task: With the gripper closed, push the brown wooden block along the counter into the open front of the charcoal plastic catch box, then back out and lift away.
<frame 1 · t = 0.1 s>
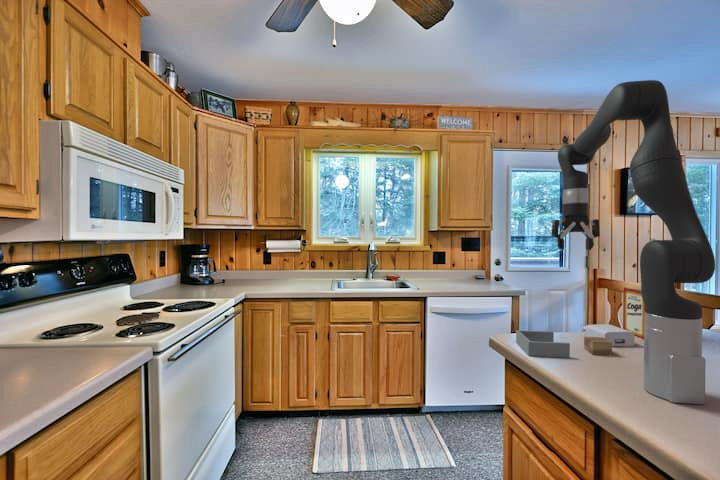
hand: (575, 249, 118), 29 cm above the countertop, tool pointing down, fingers open, 8 cm apart
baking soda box: (643, 336, 116), on the countertop
catch box: (542, 349, 102), on the countertop
brown wooden block: (597, 352, 100), on the countertop
charger: (602, 340, 112), on the countertop
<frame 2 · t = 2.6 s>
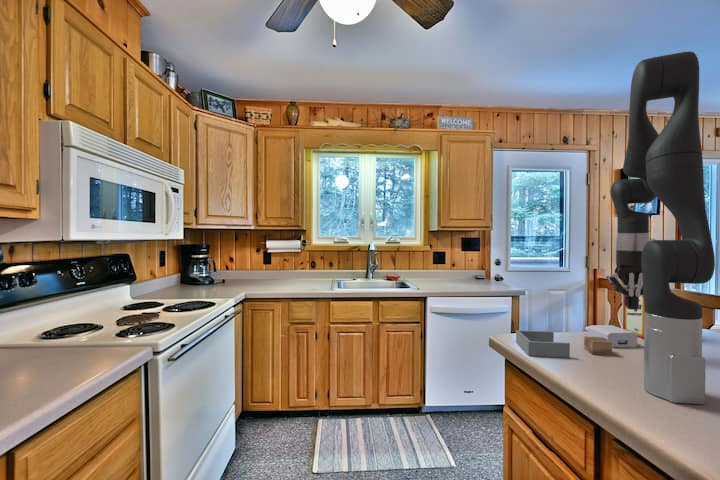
hand: (631, 308, 98), 13 cm above the countertop, tool pointing down, fingers closed
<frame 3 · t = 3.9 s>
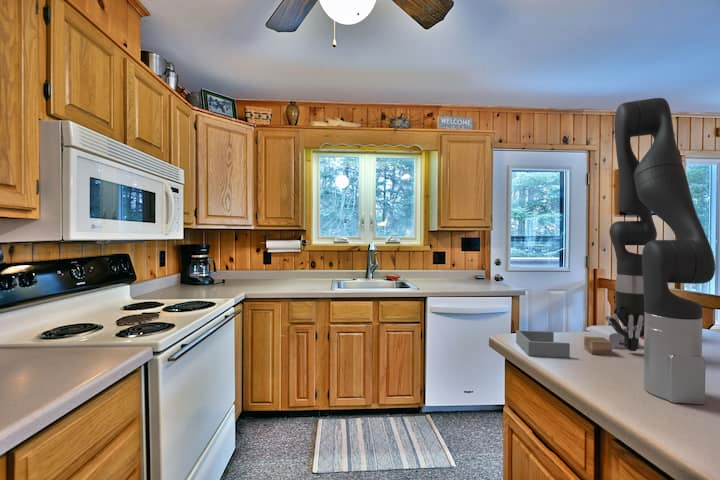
hand: (631, 350, 98), 1 cm above the countertop, tool pointing down, fingers closed
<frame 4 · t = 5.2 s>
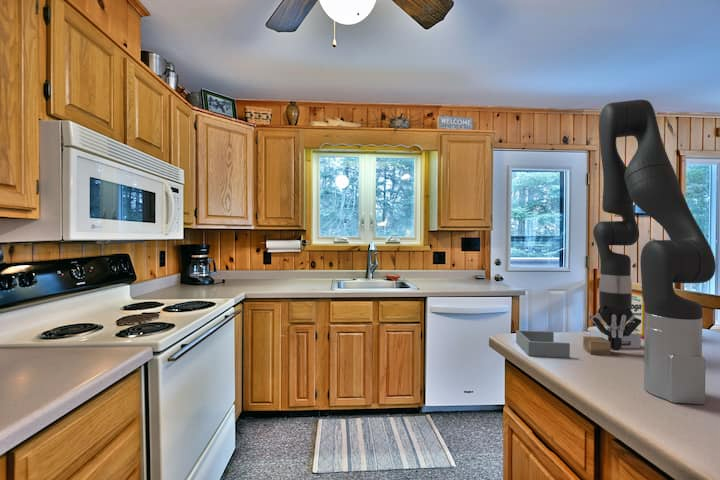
hand: (614, 349, 99), 1 cm above the countertop, tool pointing down, fingers closed
brown wooden block: (596, 352, 100), on the countertop, touching gripper
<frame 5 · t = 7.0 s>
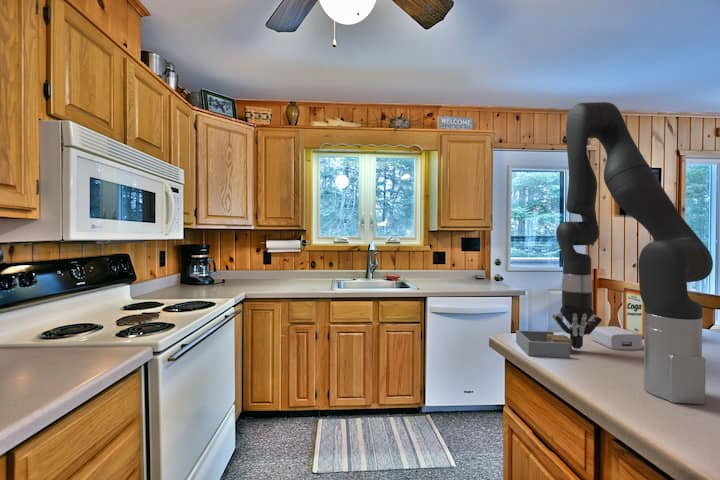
hand: (576, 347, 101), 1 cm above the countertop, tool pointing down, fingers closed
brown wooden block: (558, 350, 102), on the countertop, touching gripper
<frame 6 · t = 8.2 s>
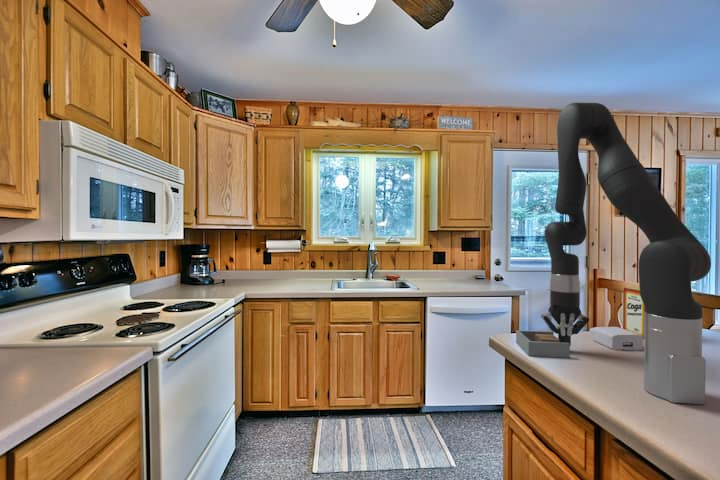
hand: (564, 347, 101), 1 cm above the countertop, tool pointing down, fingers closed
brown wooden block: (547, 350, 102), on the countertop, touching gripper
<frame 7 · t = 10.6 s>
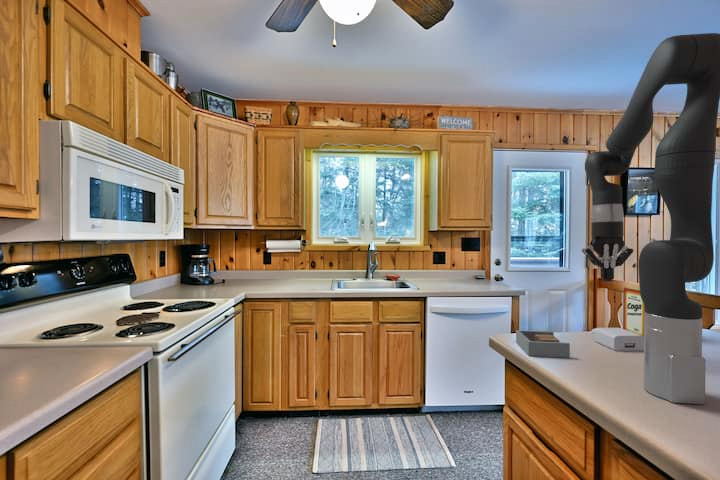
hand: (607, 281, 98), 21 cm above the countertop, tool pointing down, fingers closed
brown wooden block: (546, 350, 102), on the countertop
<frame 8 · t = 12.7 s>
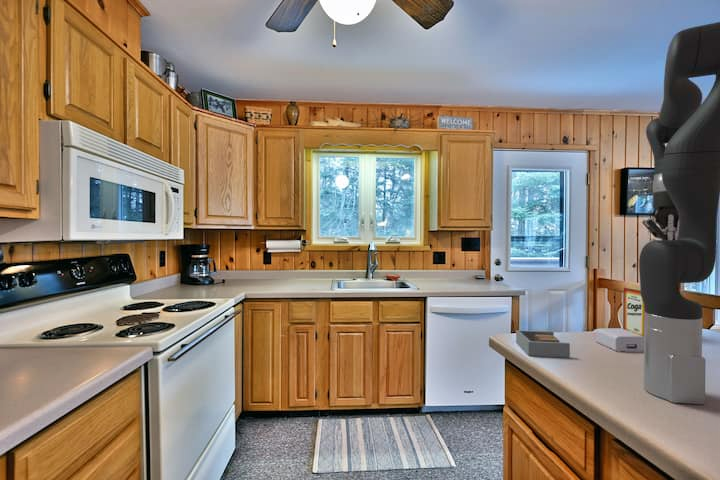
hand: (670, 254, 93), 29 cm above the countertop, tool pointing down, fingers closed
at the end: brown wooden block inside the target area on the catch box (0.4 cm from its centre), point 0.0 cm above the catch box's base; brown wooden block tilted 0°; brown wooden block moved 13.8 cm from its start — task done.
